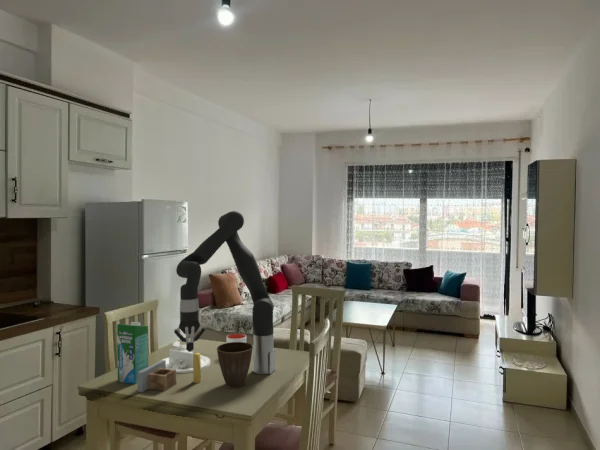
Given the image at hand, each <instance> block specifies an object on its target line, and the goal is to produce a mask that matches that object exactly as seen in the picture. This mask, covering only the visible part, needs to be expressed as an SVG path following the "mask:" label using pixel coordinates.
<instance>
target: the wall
mask: <svg viewBox="0 0 600 450" xmlns="http://www.w3.org/2000/svg"><path fill="white" fill-rule="evenodd" d="M159 368H164V369H166V361H165V360H162V359H161V360H159V361H157V362H155V363H153V364H151V365H148V367H147V368H145V369H143V370H141V371H139V372H138V383H137V392H139V393H144V392H145V391H146V390H149V389H148V374H150V373H152V372H153V371H155V370H157V369H159Z"/></svg>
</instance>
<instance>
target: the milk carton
mask: <svg viewBox="0 0 600 450" xmlns="http://www.w3.org/2000/svg"><path fill="white" fill-rule="evenodd" d="M116 328H117V329H116V330H117V331H116V337H117V339H116V341H117V344H116V345H117V349H116V350H117V351H116V352H117V382H118V383H119V382H120V383H125V384H131V385H132V384H134V385H135V384H138V372H139V371H141V370H143V369H145V368H147V367H149V326H148V325H141V322H140V321H139V322H137V321H131V322H130V324H125V323H117V325H116Z"/></svg>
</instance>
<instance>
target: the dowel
mask: <svg viewBox="0 0 600 450" xmlns="http://www.w3.org/2000/svg"><path fill="white" fill-rule="evenodd" d="M200 355H201V352H193V372H192V374H193V375H192V378H193V383H194V384H199V383H201V379H202V378H201V376H202V375H201V371H202V370H201V358H200Z"/></svg>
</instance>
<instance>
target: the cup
mask: <svg viewBox="0 0 600 450" xmlns="http://www.w3.org/2000/svg"><path fill="white" fill-rule="evenodd" d="M231 342H244V343H247V335H246V334H243V333H231V334H228V335H226V343H231Z"/></svg>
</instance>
